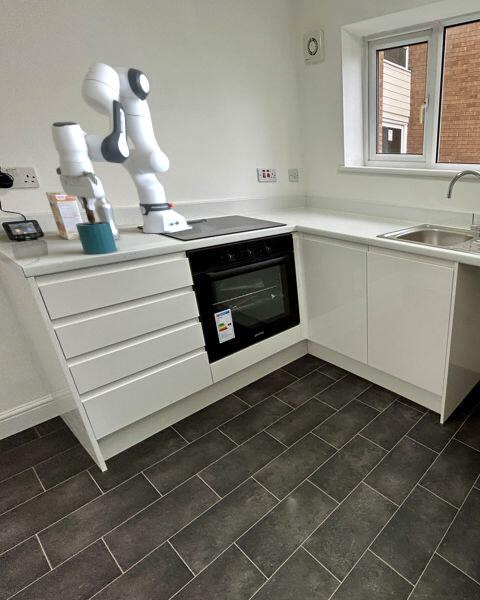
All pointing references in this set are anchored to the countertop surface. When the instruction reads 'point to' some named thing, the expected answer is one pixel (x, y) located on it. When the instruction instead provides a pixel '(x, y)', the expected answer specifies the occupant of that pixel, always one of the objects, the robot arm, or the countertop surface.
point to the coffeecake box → (65, 214)
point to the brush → (89, 213)
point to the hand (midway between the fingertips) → (88, 209)
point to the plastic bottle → (106, 214)
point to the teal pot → (96, 238)
